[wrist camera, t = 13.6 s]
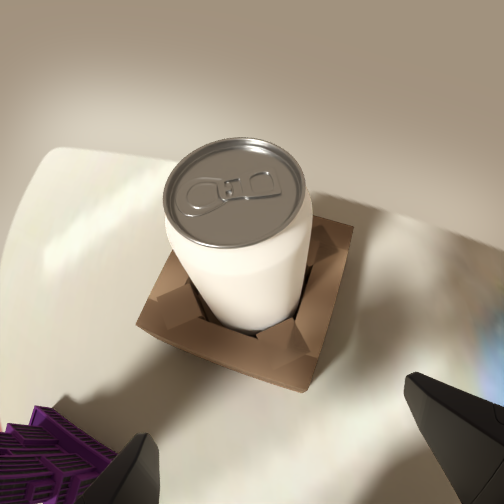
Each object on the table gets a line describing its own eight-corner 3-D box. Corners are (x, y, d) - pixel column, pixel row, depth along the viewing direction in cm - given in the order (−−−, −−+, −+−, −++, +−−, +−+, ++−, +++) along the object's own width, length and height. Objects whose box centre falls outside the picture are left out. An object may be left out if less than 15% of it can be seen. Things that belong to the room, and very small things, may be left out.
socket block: (302, 393, 20) (307, 390, 16) (157, 338, 22) (135, 324, 19) (344, 253, 24) (353, 226, 21) (214, 218, 27) (205, 188, 24)
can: (206, 263, 24) (154, 148, 13) (288, 247, 24) (292, 121, 13) (216, 345, 21) (152, 275, 10) (309, 328, 21) (339, 238, 10)
